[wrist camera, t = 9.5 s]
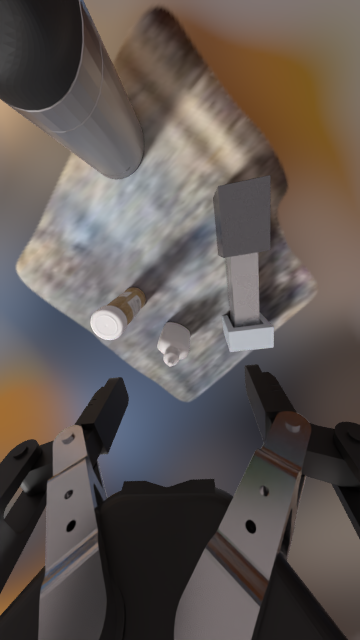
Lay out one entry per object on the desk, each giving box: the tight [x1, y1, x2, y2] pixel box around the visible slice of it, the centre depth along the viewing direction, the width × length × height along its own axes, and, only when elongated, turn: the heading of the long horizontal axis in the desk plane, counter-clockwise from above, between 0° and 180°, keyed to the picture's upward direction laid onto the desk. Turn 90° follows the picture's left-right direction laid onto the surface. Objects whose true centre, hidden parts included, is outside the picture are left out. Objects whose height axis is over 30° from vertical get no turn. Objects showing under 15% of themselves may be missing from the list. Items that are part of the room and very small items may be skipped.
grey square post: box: [226, 252, 260, 328], centre depth 33 cm, size 16×4×5 cm, turn 10°
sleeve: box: [213, 175, 270, 258], centre depth 29 cm, size 9×6×7 cm
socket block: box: [222, 312, 274, 352], centre depth 35 cm, size 4×7×8 cm, turn 100°
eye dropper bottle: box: [157, 322, 190, 367], centre depth 34 cm, size 4×6×12 cm
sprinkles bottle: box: [91, 288, 146, 340], centre depth 32 cm, size 5×5×13 cm
